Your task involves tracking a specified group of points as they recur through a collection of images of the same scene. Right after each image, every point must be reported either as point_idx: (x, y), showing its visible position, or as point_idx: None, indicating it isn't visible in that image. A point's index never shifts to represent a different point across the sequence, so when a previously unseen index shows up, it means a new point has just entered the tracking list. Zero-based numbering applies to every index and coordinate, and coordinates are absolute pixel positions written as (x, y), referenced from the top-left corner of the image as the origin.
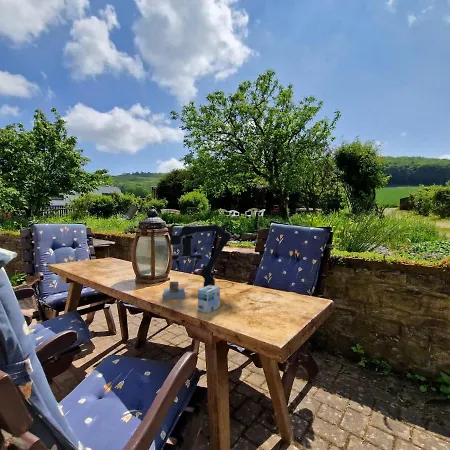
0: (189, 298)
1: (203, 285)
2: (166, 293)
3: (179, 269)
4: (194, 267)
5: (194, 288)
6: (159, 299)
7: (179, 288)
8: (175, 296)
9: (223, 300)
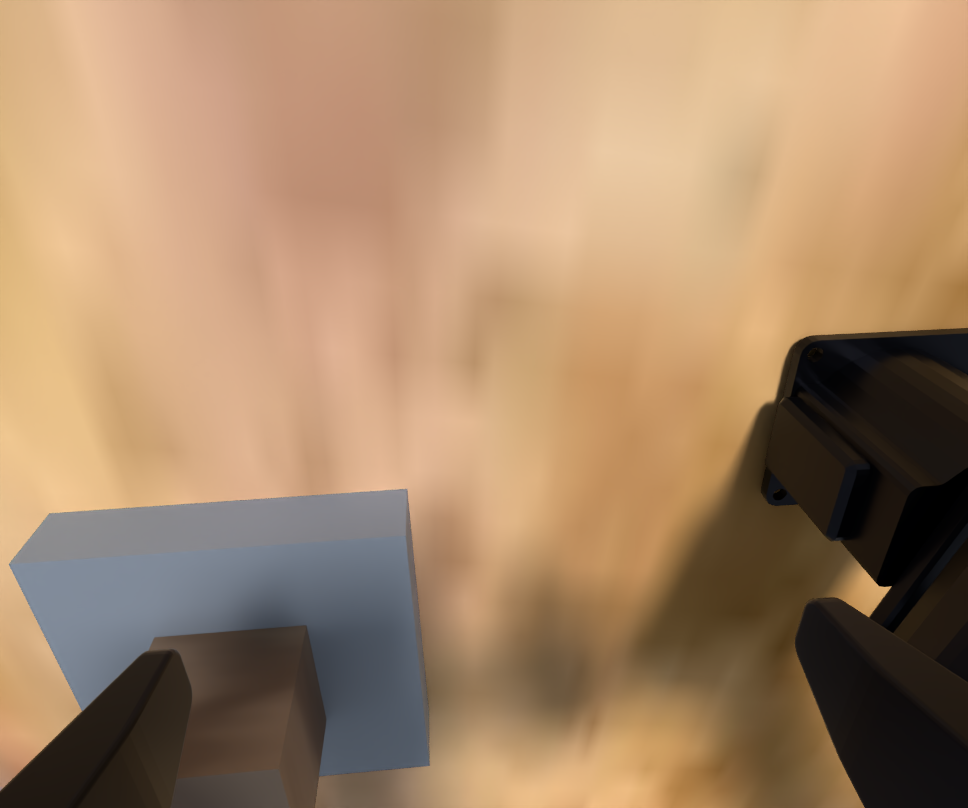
0: (483, 724)
1: (803, 438)
2: None
3: (168, 748)
4: (870, 780)
5: (616, 323)
6: None
7: (321, 566)
8: None
9: (836, 774)
